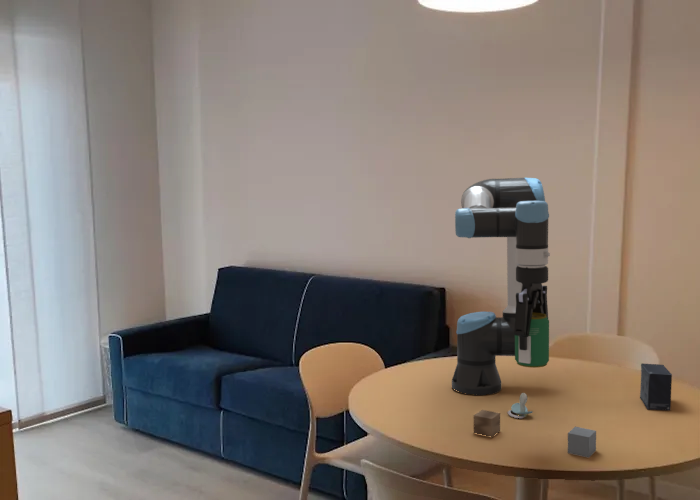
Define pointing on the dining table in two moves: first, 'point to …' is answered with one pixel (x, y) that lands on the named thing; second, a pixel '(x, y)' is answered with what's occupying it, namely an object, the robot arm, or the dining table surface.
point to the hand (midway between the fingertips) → (531, 358)
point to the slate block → (582, 442)
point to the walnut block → (487, 423)
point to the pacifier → (520, 408)
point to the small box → (655, 387)
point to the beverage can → (536, 341)
